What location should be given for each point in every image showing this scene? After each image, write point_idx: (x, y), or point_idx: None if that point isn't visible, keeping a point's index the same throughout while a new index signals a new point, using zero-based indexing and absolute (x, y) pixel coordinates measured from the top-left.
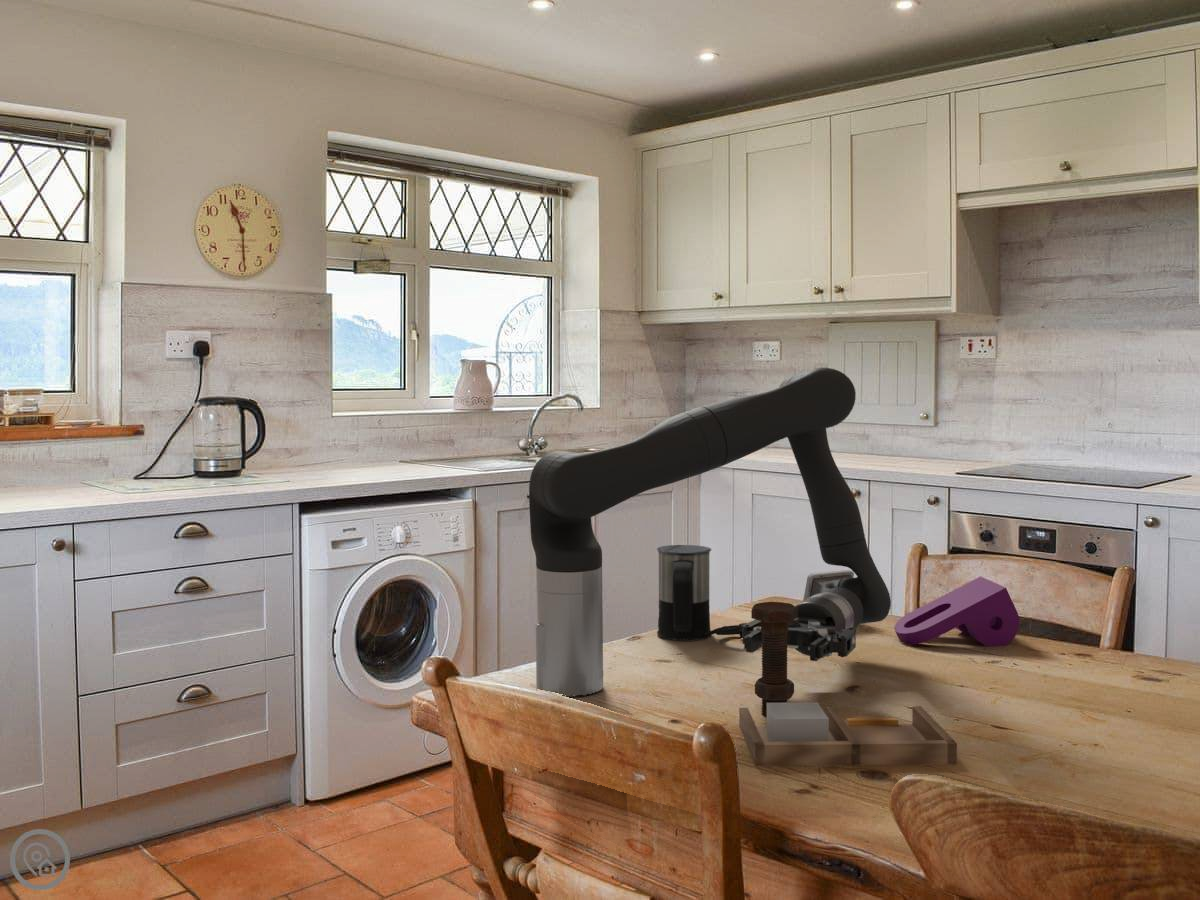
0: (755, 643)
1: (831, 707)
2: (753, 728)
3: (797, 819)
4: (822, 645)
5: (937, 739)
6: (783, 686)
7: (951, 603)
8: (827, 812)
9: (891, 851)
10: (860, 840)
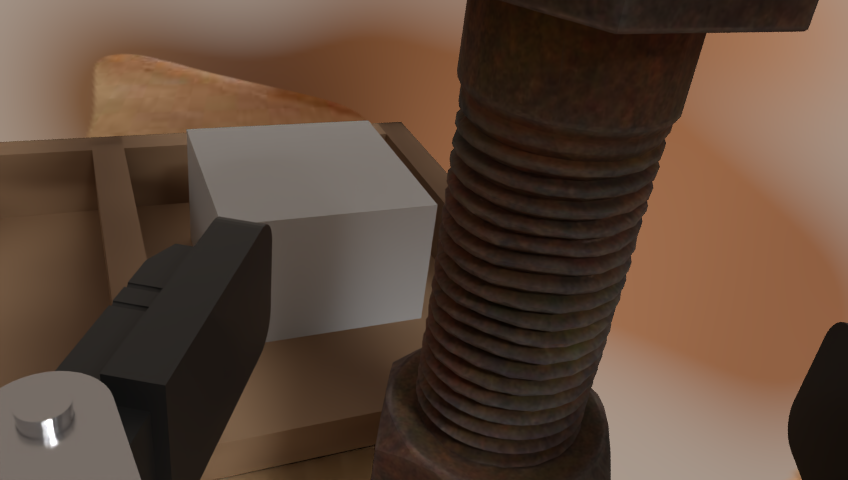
0: (844, 459)
1: None
2: (441, 185)
3: (271, 101)
4: (150, 284)
5: None
6: (419, 349)
7: None
8: (212, 116)
9: (111, 57)
10: (159, 71)
